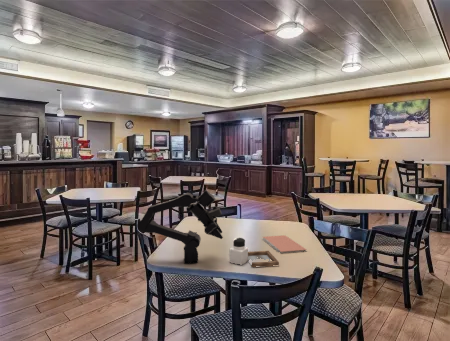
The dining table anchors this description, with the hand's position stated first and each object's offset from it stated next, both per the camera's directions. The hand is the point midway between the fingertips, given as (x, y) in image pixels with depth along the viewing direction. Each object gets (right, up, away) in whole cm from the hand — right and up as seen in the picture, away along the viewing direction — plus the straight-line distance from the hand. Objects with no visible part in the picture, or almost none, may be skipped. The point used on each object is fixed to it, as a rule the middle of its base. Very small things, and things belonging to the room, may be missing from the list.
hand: (222, 235), depth 148 cm
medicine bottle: (+8, -14, +1) cm, 16 cm away
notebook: (+36, -13, +28) cm, 47 cm away
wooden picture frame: (+19, -14, +3) cm, 24 cm away
